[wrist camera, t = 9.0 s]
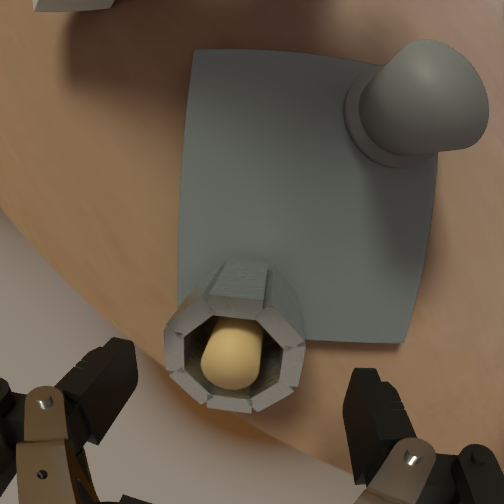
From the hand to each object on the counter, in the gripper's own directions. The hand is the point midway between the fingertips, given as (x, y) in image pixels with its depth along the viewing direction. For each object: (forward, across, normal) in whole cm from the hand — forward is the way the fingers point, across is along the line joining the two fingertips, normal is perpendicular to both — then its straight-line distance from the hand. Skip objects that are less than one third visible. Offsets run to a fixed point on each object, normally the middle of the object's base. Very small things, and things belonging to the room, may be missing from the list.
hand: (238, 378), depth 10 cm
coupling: (+6, 0, 0) cm, 6 cm away
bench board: (+8, -2, -6) cm, 11 cm away
